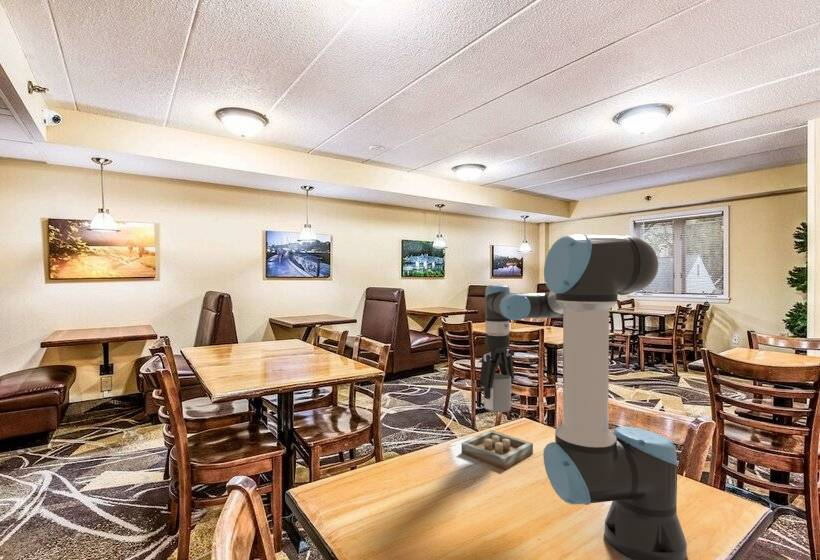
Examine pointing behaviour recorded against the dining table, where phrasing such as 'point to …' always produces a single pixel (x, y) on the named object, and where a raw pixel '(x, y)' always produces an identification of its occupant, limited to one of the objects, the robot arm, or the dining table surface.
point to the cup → (501, 393)
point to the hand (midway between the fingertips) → (497, 405)
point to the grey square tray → (497, 449)
